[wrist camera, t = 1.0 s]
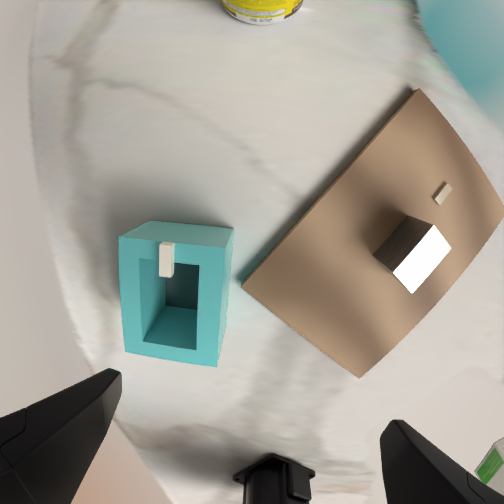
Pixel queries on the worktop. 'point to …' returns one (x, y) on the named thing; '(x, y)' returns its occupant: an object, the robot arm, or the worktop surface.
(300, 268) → the base plate
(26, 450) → the robot arm
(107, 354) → the worktop surface
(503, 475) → the skincare box
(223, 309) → the teal hollow block
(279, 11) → the supplement bottle
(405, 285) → the grey rectangular block
